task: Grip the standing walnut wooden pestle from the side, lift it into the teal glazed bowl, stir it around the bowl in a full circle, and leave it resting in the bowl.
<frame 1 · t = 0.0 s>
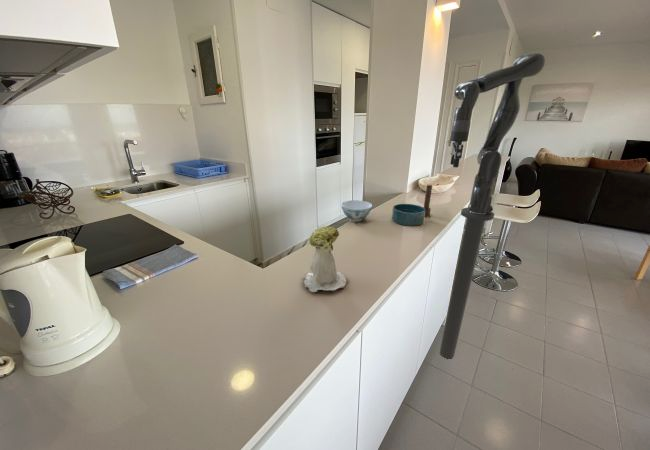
hand: (454, 165, 133), 26 cm above the worktop, tool pointing down, fingers open, 8 cm apart
bowl: (407, 220, 137), on the worktop
pestle: (425, 215, 145), on the worktop
white plant vase: (325, 283, 86), on the worktop
chinaware: (355, 219, 139), on the worktop
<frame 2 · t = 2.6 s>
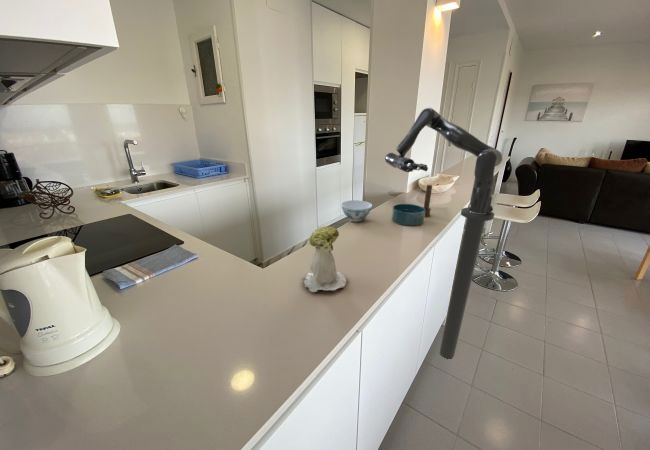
hand: (419, 169, 147), 22 cm above the worktop, tool horizontal, fingers open, 8 cm apart
nothing on the worktop moved.
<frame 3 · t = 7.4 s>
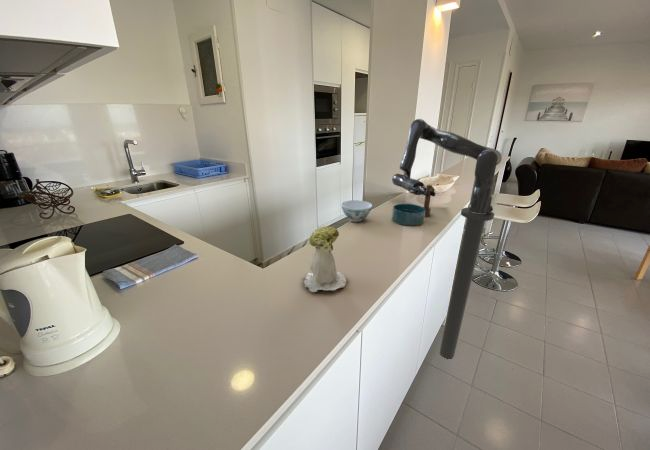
hand: (431, 194, 138), 12 cm above the worktop, tool horizontal, fingers closed on pestle, 2 cm apart
pestle: (425, 215, 145), on the worktop, touching gripper
everything else where it was.
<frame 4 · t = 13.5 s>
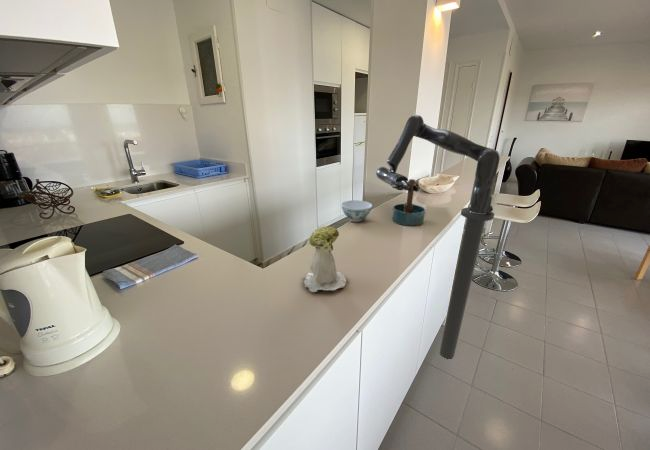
hand: (414, 189, 129), 17 cm above the worktop, tool horizontal, fingers closed on pestle, 2 cm apart
pestle: (408, 211, 136), point 5 cm above the worktop, touching gripper
everything else where it was.
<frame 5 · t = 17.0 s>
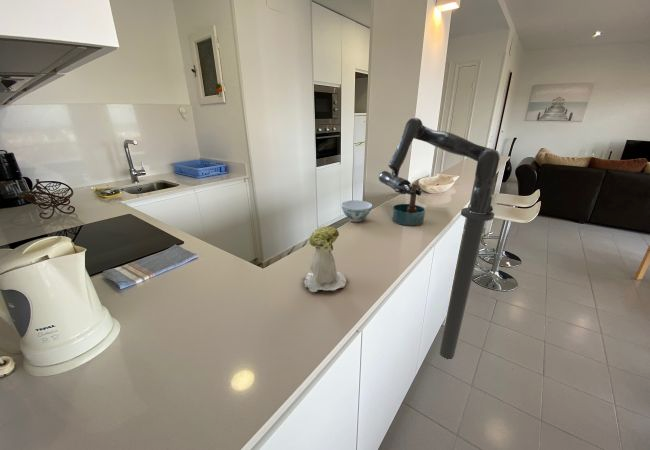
hand: (417, 193, 130), 14 cm above the worktop, tool horizontal, fingers closed on pestle, 2 cm apart
pestle: (410, 215, 137), point 2 cm above the worktop, touching gripper
everything else where it was.
when the fingers open (13 cm above the worktop, at t = 19.8 s): pestle stays where it is, resting on bowl.
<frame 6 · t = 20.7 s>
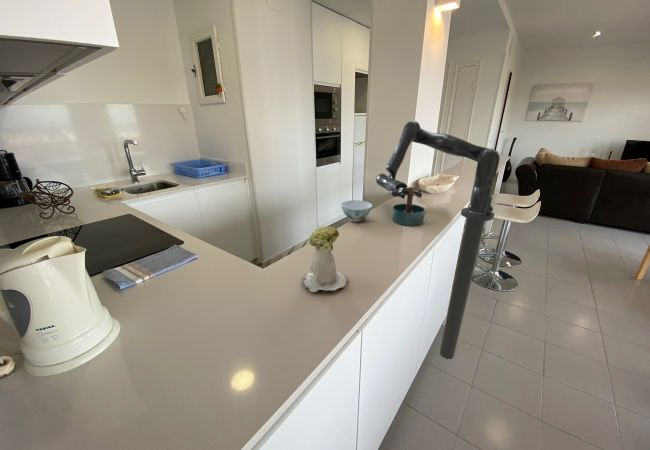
hand: (412, 196, 131), 13 cm above the worktop, tool horizontal, fingers open, 8 cm apart
pestle: (407, 219, 137), point 1 cm above the worktop, touching bowl
everything else where it was.
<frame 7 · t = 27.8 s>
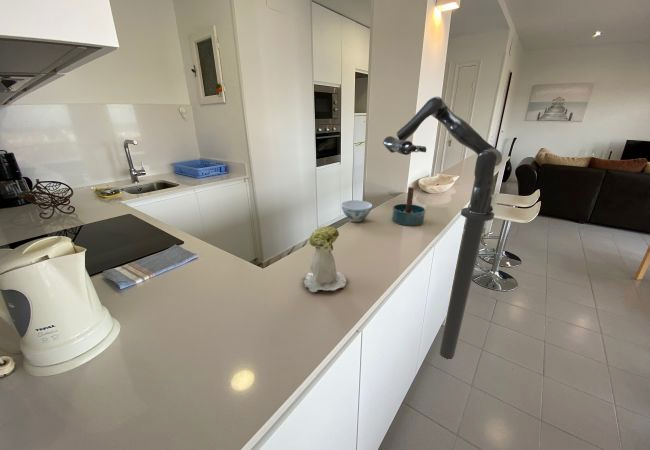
hand: (418, 150, 142), 32 cm above the worktop, tool horizontal, fingers open, 8 cm apart
nothing on the worktop moved.
at the end: pestle 0.2 cm from the bowl (horizontally); pestle point 0.8 cm above the worktop; pestle moved 14.3 cm from its start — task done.
